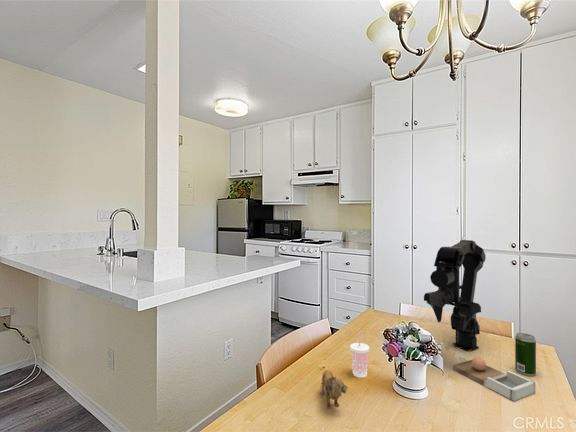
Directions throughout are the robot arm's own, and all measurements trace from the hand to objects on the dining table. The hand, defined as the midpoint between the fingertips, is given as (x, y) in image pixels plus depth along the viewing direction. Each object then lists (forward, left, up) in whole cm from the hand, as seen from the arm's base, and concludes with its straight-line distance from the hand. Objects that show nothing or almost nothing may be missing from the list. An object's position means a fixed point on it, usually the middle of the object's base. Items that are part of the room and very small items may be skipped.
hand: (450, 326), depth 109 cm
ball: (+11, 0, -9) cm, 14 cm away
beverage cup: (-5, -35, -12) cm, 38 cm away
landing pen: (+20, 0, -12) cm, 24 cm away
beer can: (+16, +15, -12) cm, 25 cm away
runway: (+11, 0, -12) cm, 16 cm away
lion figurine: (+3, -51, -12) cm, 53 cm away
